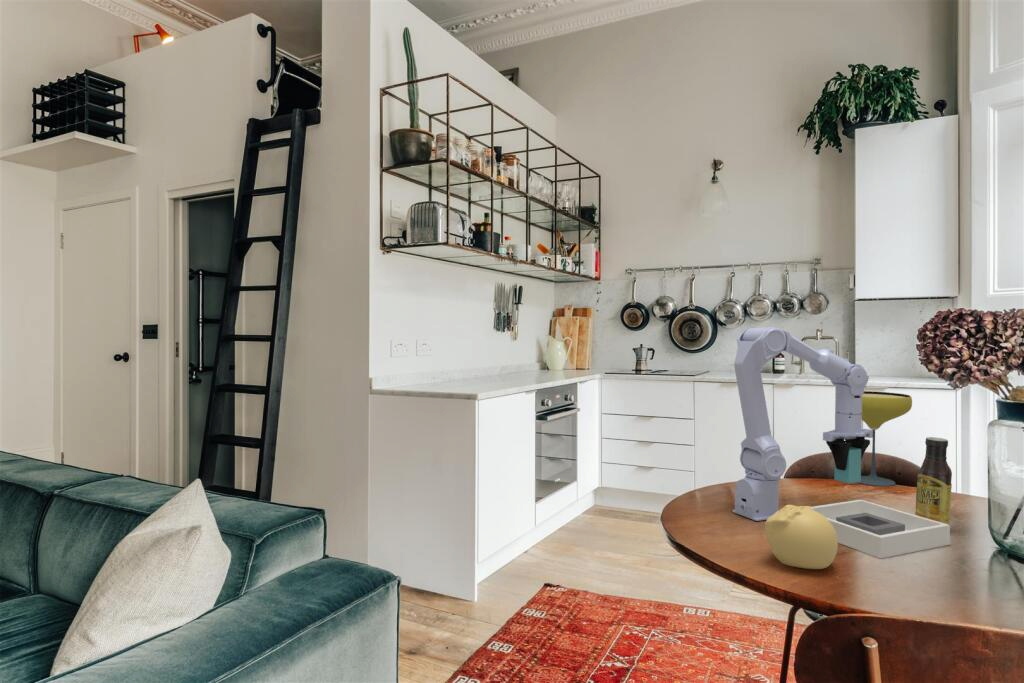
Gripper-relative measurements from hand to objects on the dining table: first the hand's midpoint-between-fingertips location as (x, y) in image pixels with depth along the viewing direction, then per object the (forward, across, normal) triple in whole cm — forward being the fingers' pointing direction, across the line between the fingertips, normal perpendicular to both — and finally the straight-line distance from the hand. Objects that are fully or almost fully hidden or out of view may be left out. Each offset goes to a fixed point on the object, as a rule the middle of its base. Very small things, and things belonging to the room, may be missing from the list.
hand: (847, 468), depth 150 cm
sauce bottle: (+10, +4, -18) cm, 21 cm away
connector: (+3, 0, 0) cm, 3 cm away
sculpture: (+10, -39, -22) cm, 46 cm away
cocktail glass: (+10, +30, +16) cm, 35 cm away
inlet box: (+10, -13, -16) cm, 23 cm away
